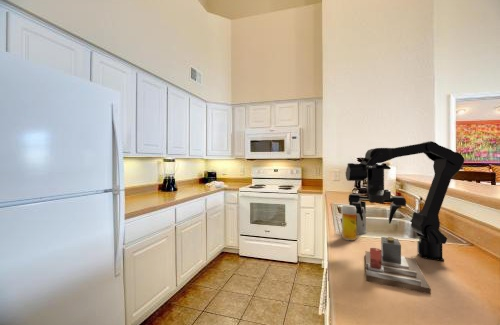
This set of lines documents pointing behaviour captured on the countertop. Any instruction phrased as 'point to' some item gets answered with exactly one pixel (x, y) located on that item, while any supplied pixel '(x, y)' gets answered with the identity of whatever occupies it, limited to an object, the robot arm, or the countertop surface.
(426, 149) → the robot arm
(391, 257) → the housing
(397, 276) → the base
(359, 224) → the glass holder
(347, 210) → the beer can
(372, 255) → the lever
